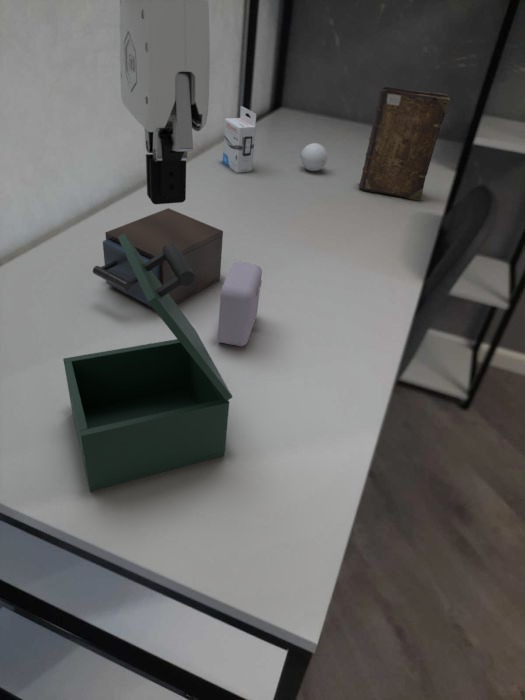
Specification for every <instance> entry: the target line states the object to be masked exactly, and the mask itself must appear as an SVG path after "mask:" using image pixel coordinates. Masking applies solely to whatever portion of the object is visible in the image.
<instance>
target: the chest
mask: <svg viewBox="0 0 525 700" xmlns="http://www.w3.org/2000/svg"><path fill="white" fill-rule="evenodd" d="M63 366H64V372H65V378H66V383H67V389H68V395H69V401H70V407H71V413H72V417H73V423H74V427H75V431H76V436H77V440H78V446H79V449H80V450H79V451H80V454H81V458H82V464H83V468H84V472H85V477H86V481H87V486H88V490H89V491H88V492H93V491H96V490H101V489H104V488H109V487H111V486H117V485H119V484H123V483H127V482H131V481H134V480H138V479H143V478H146V477H149V476H153V475H157V474H160V473H164V472H168V471H172V470H175V469H180V468H184V467H186V466H189V465H194V464H197V463H201V462H205V461H209V460H212V459H217V458H220V457H223V456H226V455H225V454H226V443H227V432H228V423H229V422H228V421H229V412H230V411H229V410H230V401H229V400H228V401H226V400H225V398H224V397H223V396H222V395H221V393H220V392H219V391H218V390H217V388H216V387H215V386H214V385H213V383H212V382H211V381H210V379H209V378H208V377H207V376H206V374H205V373H204V372H203V371H202V369H201V368H200V367H199V366H198V364H197V363H196V362H195V361H194V359H193V358H192V357H191V355H190V354H189V353H188V352H187V350H186V349H185V348H184V347H183V345H182V344H181V343H180V342H179V340H178V339H177V338H176V339H170V340H164V341H159V342H151V343H145V344H141V345H135V346H129V347H122V348H117V349H111V350H106V351H99V352H93V353H88V354H82V355H76V356H70V357H64V358H63Z"/></svg>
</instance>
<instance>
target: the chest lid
mask: <svg viewBox="0 0 525 700" xmlns="http://www.w3.org/2000/svg"><path fill="white" fill-rule="evenodd" d="M118 239H119V241H120V243H121V246H122V248H123V250H124V252H125V254H126V256H127V258H128V260H129V262H130V264H131V267H132V269H133V271H134V273H135V275H136V277H137V279H138V281H139V283H140V286H141V288H142V290H143V292H144V294H145V296H146V298H147V300H148V302H149V304H150V305H151V306H152V307H153V308H152V307H151V308H152V309H153V311H154V312H156V314H157V315H158V316H159V317H160V319H161V320H162V321H163V323H164V324H165V325H166V327H167V328H168V329H169V330H170V332H171V333H172V335H174V337H175V338H176V339H178V340H179V342H180V343H181V344H182V345H183V347H184V348H185V349H186V350H187V352H188V353H189V354H190V355H191V357H192V358H193V359H194V361H195V362H196V363H197V364H198V366H199V367H200V368H201V369H202V371H203V372H204V373H205V374H206V376H207V377H208V378H209V379H210V381H211V382H212V383H213V385H214V386H215V387H216V388H217V390H218V391H219V392H220V393H221V395H222V396H223V397H224V398H225V400H226V401H229V400H231V399H233V395H232V393H231V392H230V390H229V388H228V386H227V384H226V383H225V381H224V379H223V377H222V375H221V373H220V371H219V369H218V368H217V366H216V364H215V363H214V361H213V359H212V357H211V356H210V353H209V351H208V350H207V348H206V346H205V344H204V343H203V341H202V339H201V337H200V336H199V333H198V332H197V330H196V329H195V328H194V326H193V325H192V324H191V322H190V321H189V319H188V318H187V317H186V315H185V314H184V313H183V311H182V310H181V308H180V307H179V306H178V304H177V305H176V303H175V302H174V300H173V299H172V298H171V296H170V295H169V294H168V293H169V292H171V291H173V290H174V289H176V288H177V287H179V286H180V285H183V286H189V285H191V284H192V283H193V282H194V280H195V275H194V273H193V271H192V270H191V268H190V267H189V265H188V264H187V262H186V260H185V259H184V257H183V256H182V254H181V253H180V251H179V249H178V248H177V246H176V245H175V244H173V243H167V244H165V245H164V246H163V248H162V252H161V253H160V254H158V255H157V256H155V257H154V258H152V259H150V260H149V261H147V262H145V261H144V260H143V258H142V257H141V256H140V254H139V253H138V251H137V250H136V249H135V247H134V246H133V245H132V243H131V242H130V241H129V239H128V238H127V237H126V235H125V234H122V235H120V236H119V237H118ZM166 260H167V262H168V264H169V265H170V267H171V269H172V271H173V272H174V274H175V276H176V277H175V278H173V279H172V280H170V281H169V282H167V283H165V284H164V285H162V284H161V283H160V281H159V280H158V279H157V277H156V276H155V275H154V273H153V272H152V271H151V270H152V269H153V268H155V267H156V266H158V265H160V264H161V263H163V262H164V261H166Z"/></svg>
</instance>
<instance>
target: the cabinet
mask: <svg viewBox="0 0 525 700" xmlns="http://www.w3.org/2000/svg"><path fill="white" fill-rule="evenodd" d="M104 233H105V240H107V239H109V240H111V241H113V242H115V243H120V241H119V239H118V237H119V236H120V235H122V234H125V235H126V237H127V238H128V239H129V241H130V242H131V243H132V245H133V246H134V247H135V249H136V250H137V251H138V253H140V254H142V255H145V256H147V257H149V258H151V259H152V258H154V257H155V256H157V255H158V254H160V253H161V252H162V248H163V246H164V245H165V244H167V243H173V244H175V245H176V246H177V248H178V249H179V251H180V253H181V254H182V256H183V257H184V259H185V260H186V262H187V264H188V265H189V267H190V268H191V270H192V271H193V273H194V275H195V280H194V282H193V283H192V284H191V285H189V286H183V285H180V286H179V287H177V288H176V289H174V290H173V291H171V292H169V293H168V294H169V295H170V296H171V298H172V299H173V300H174V302H175V303H176V305H177V306H178V305H179V304H181V303H183V302H184V301H187V299H189V298H191V297H193V296H195V295H196V294H198V293H200V292H202V291H204V290H205V289H207V288H208V287H211V286H212V285H214V284H215V283H217V282H219V281H221V270H222V269H221V268H222V252H223V236H224V231H223V230H222V229H219V228H217V227H215V226H212V225H209V224H207V223H205V222H202V221H200V220H198V219H196V218H193V217H190V216H188V215H186V214H184V213H181V212H179V211H176V210H174V209H171V208H169V207H168V208H165V209H162V210H160V211H157V212H155V213H152V214H150V215H147V216H145V217H142V218H140V219H139V218H138V219H137V220H134V221H131V222H129V223H126V224H124V225H121V226H118V227H116V228H113V229H110V230H108V231H105V232H104ZM120 244H121V243H120ZM175 277H176V276H175V274H174V272H173V271H172V269H171V267H170V265H169V264H168V262H167V260H166V261H164V262H163V263H161V264H160V283H161V284H162V285H164V284H165V283H167V282H169V281H170V280H172V279H173V278H175Z"/></svg>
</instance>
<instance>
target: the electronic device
mask: <svg viewBox="0 0 525 700" xmlns="http://www.w3.org/2000/svg"><path fill="white" fill-rule="evenodd" d="M262 276H263V269H262V268H261V266H260V265H258V264H256V263H251V262H245V261H238V260H234V261H233V263H232V265H231V267H230V268H229V271H228V274H227V275H226V277H225V280H224V282H223V283H222V286H221V291H220V298H219V313H218V329H217V343H221V344H227V345H231V346H238V347H244V346H245V345H247V344H248V342H249V340H250V336H251V334H252V331H253V327H254V325H255V321H256V318H257V315H258V308H259V301H260V293H261V288H262V287H261V286H262V281H263V280H262Z"/></svg>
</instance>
